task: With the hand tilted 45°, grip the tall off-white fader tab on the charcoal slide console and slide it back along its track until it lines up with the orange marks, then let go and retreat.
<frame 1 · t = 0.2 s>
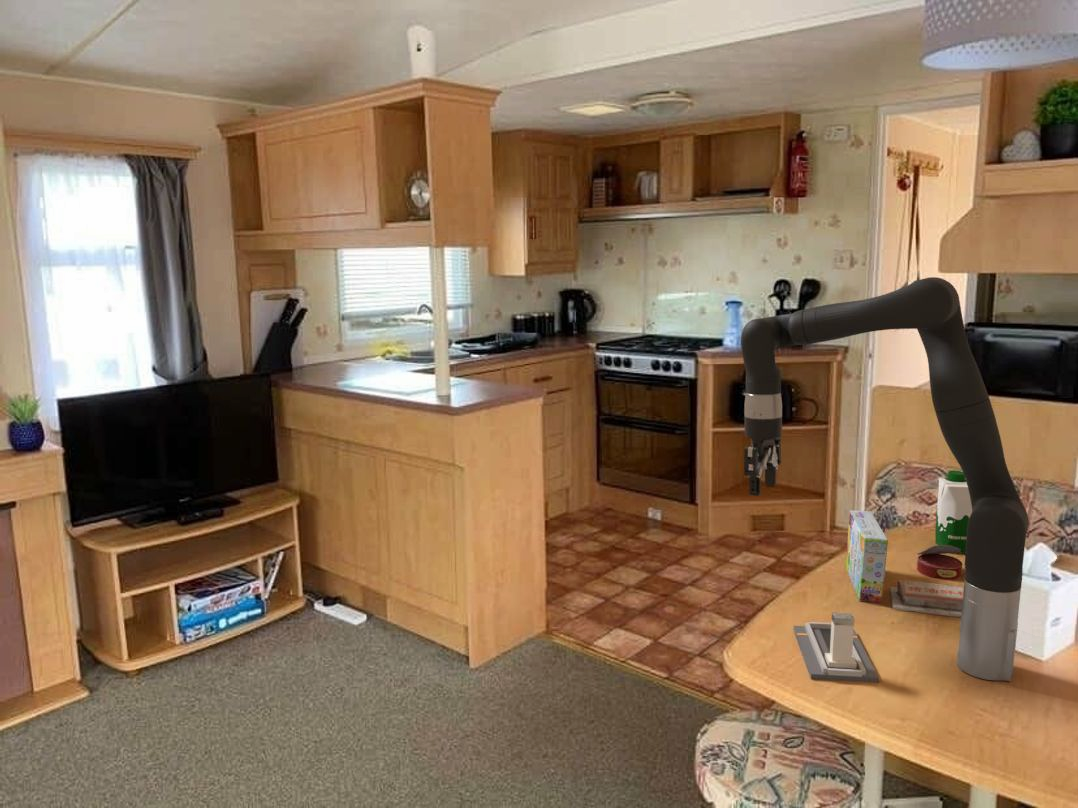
hand: (762, 490, 175), 28 cm above the table, tool pointing down, fingers open, 8 cm apart
snack box: (863, 584, 197), on the table
fader tab: (841, 639, 156), point 6 cm above the table, slide at 6.0 cm
milk carton: (953, 549, 218), on the table
packaged product: (934, 608, 185), on the table
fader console: (833, 654, 163), on the table
canned food: (938, 573, 203), on the table
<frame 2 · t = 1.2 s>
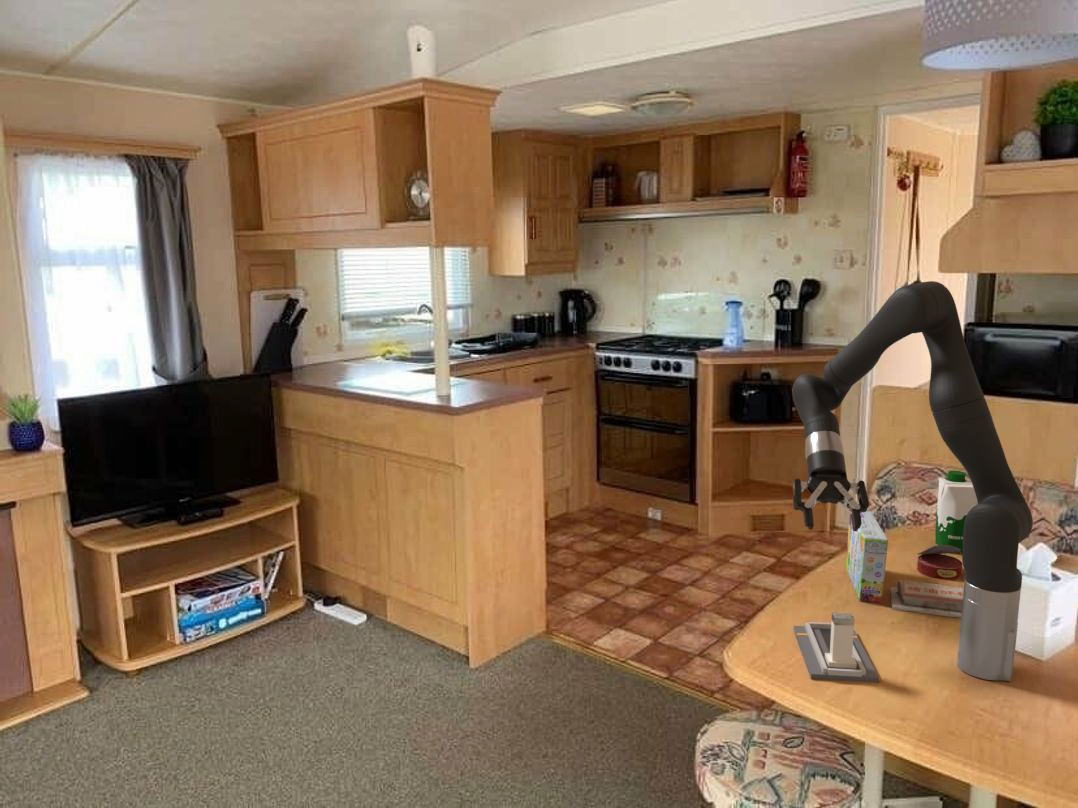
hand: (833, 528, 164), 24 cm above the table, tool tilted 45°, fingers open, 8 cm apart
nothing on the table moved.
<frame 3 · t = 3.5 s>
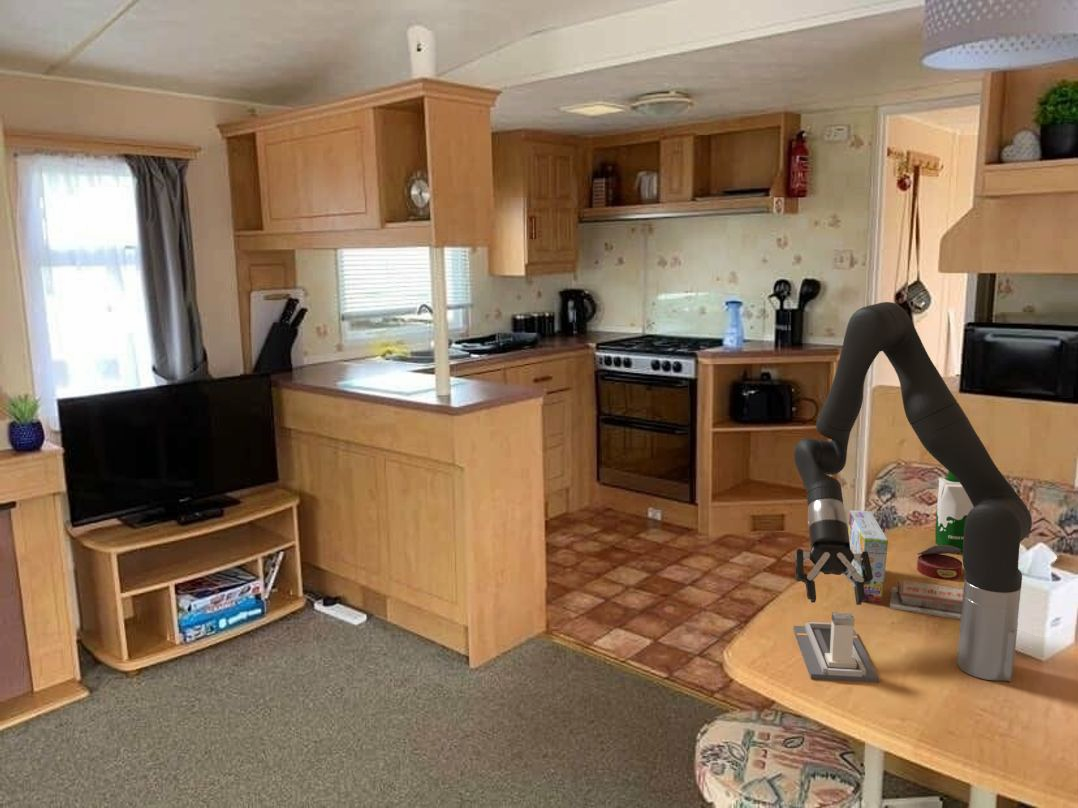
hand: (836, 602, 161), 11 cm above the table, tool tilted 45°, fingers open, 8 cm apart
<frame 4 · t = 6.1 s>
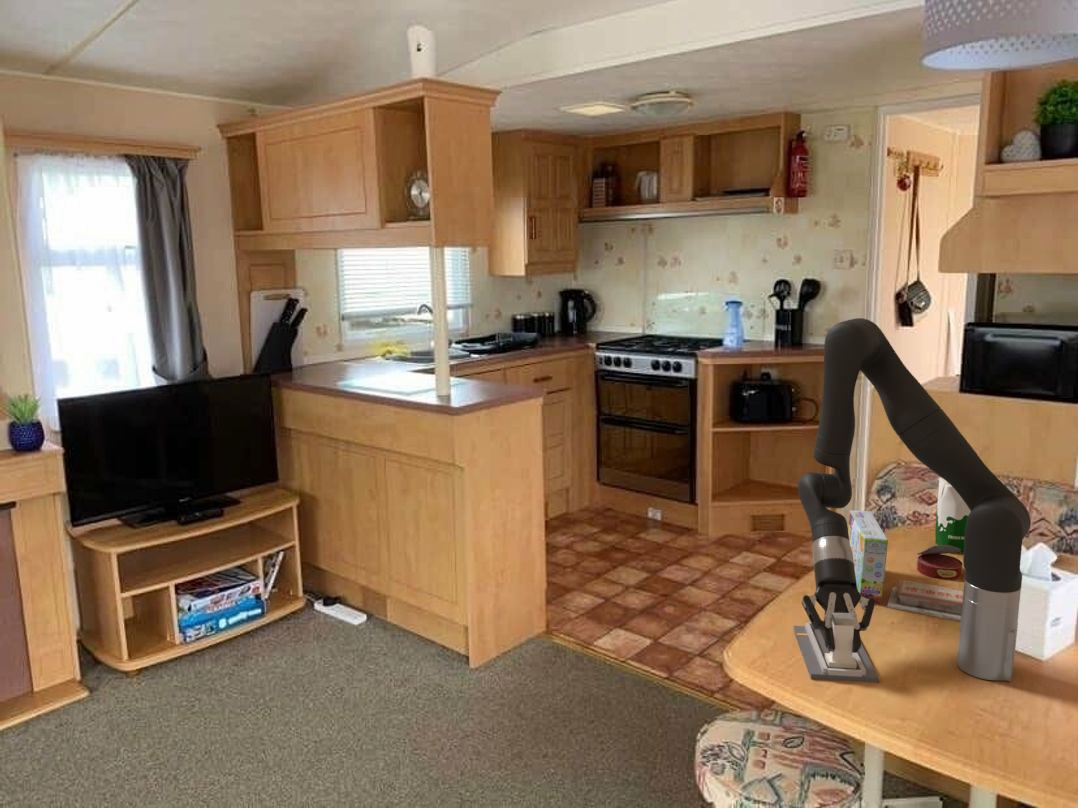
hand: (843, 650, 154), 5 cm above the table, tool tilted 45°, fingers closed on fader tab, 3 cm apart
fader tab: (841, 639, 156), point 6 cm above the table, slide at 6.0 cm, touching gripper
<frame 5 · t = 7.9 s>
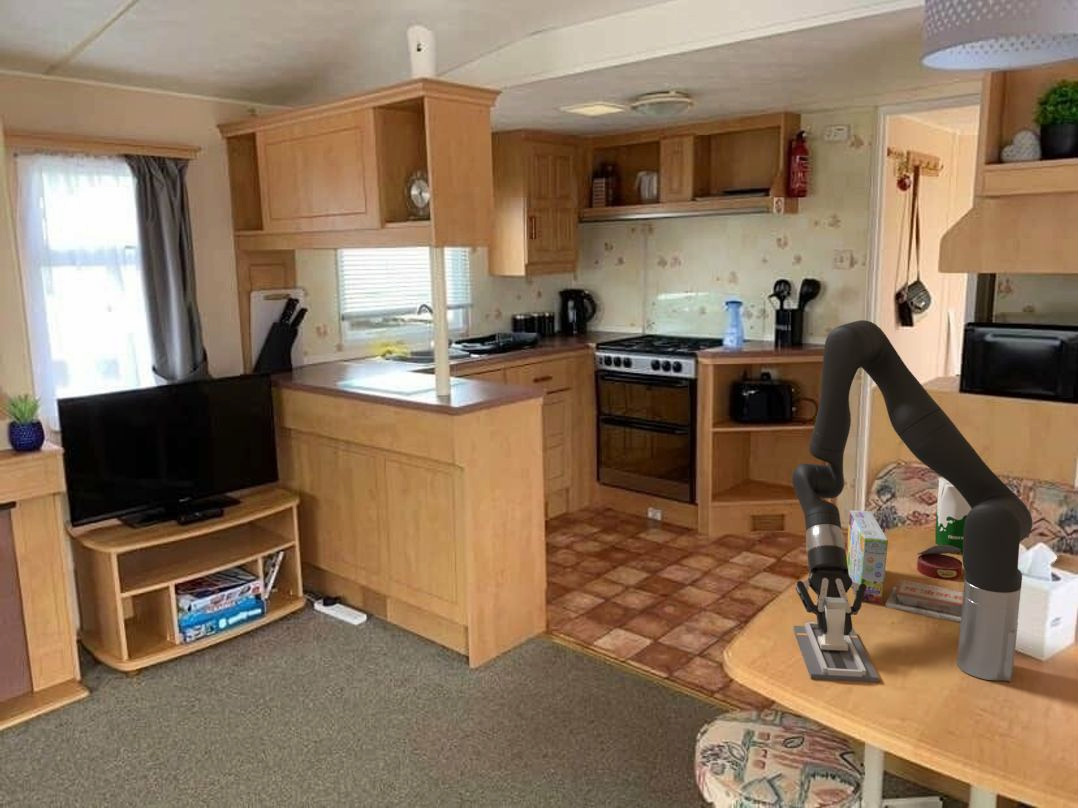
hand: (835, 633, 161), 5 cm above the table, tool tilted 45°, fingers closed on fader tab, 3 cm apart
fader tab: (833, 623, 163), point 6 cm above the table, slide at -1.0 cm, touching gripper
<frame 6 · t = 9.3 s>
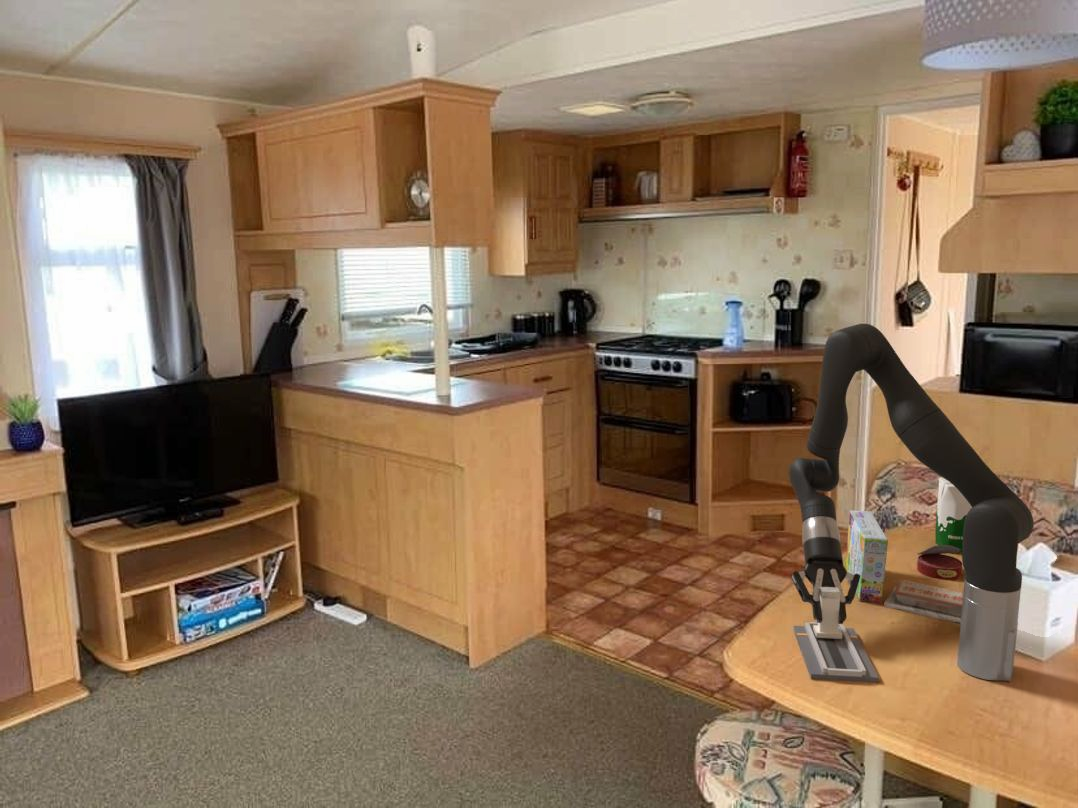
hand: (830, 621, 166), 5 cm above the table, tool tilted 45°, fingers closed on fader tab, 3 cm apart
fader tab: (828, 612, 168), point 6 cm above the table, slide at -6.0 cm, touching gripper
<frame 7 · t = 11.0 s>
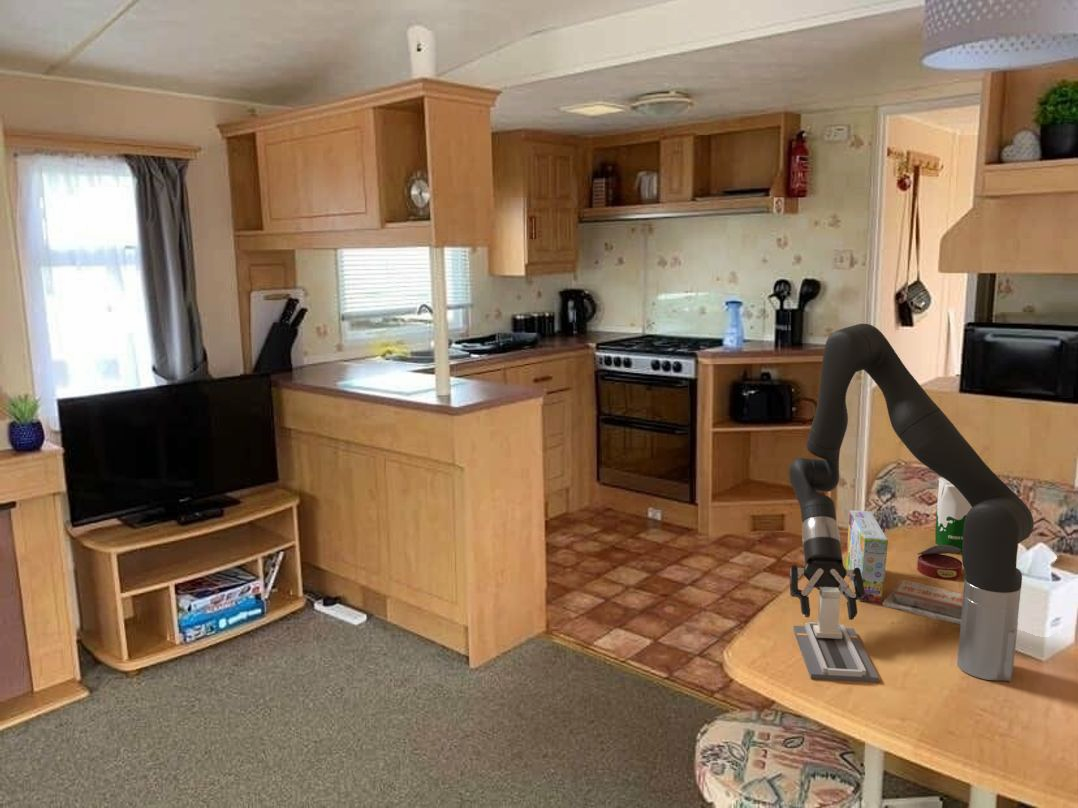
hand: (829, 617, 166), 6 cm above the table, tool tilted 45°, fingers open, 8 cm apart
fader tab: (828, 611, 168), point 6 cm above the table, slide at -6.0 cm
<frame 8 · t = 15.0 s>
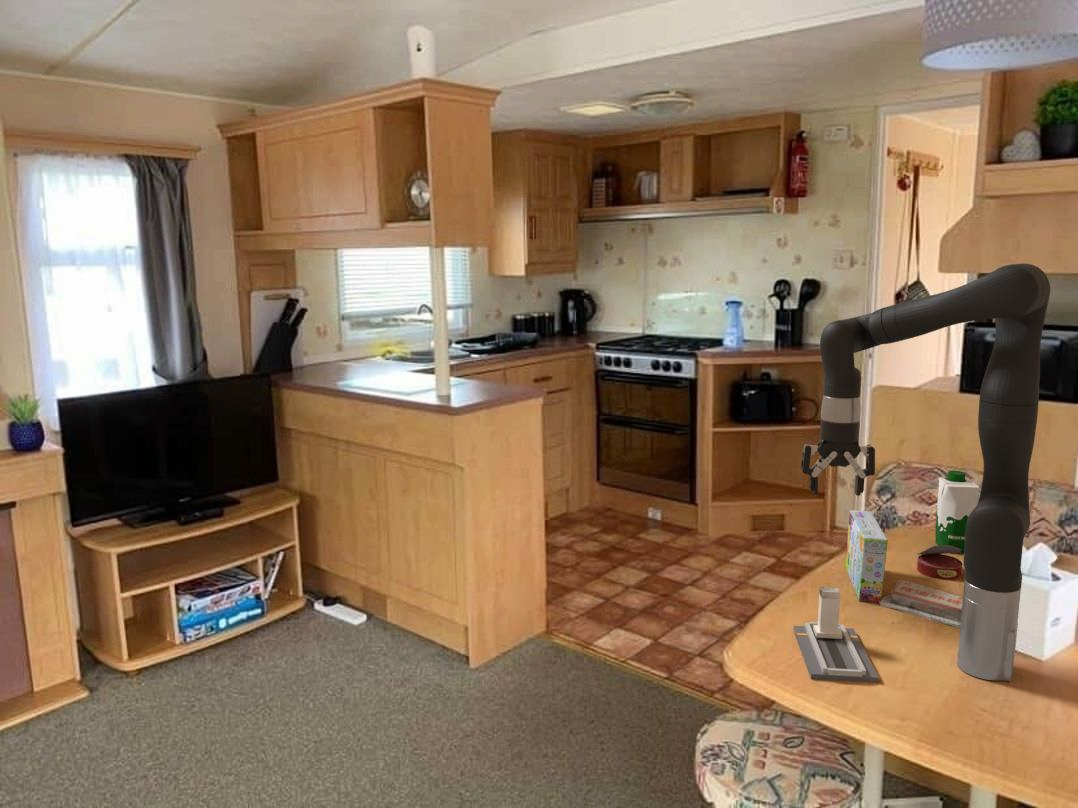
hand: (836, 493, 172), 28 cm above the table, tool pointing down, fingers open, 8 cm apart
packaged product: (928, 612, 182), on the table
everything else where it was.
at the end: fader tab slide at -6.0 cm; the gripper is holding nothing; packaged product moved 3.6 cm from its start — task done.
